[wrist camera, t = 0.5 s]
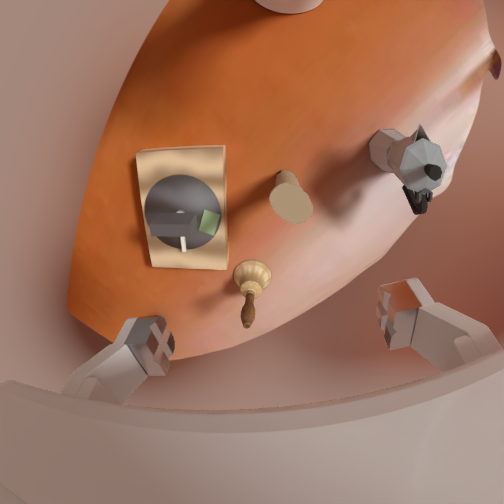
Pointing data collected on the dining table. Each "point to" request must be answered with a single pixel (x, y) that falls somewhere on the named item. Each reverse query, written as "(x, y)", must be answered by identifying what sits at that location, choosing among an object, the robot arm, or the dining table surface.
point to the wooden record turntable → (186, 203)
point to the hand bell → (251, 286)
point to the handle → (290, 199)
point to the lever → (174, 225)
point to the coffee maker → (410, 163)
